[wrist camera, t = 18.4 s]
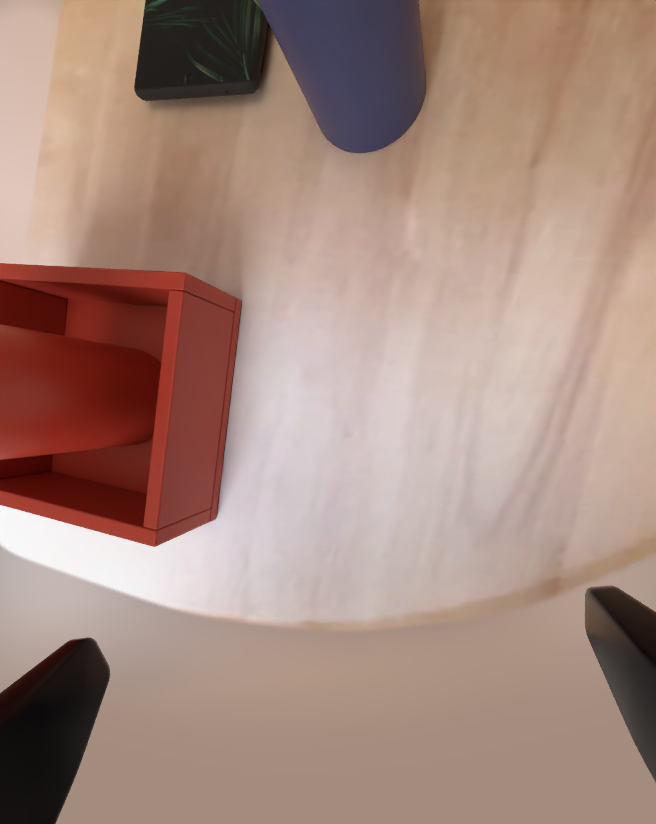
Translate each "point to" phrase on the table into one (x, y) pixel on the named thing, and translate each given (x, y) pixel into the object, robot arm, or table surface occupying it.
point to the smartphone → (200, 48)
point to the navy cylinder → (354, 65)
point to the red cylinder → (72, 394)
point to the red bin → (176, 403)
